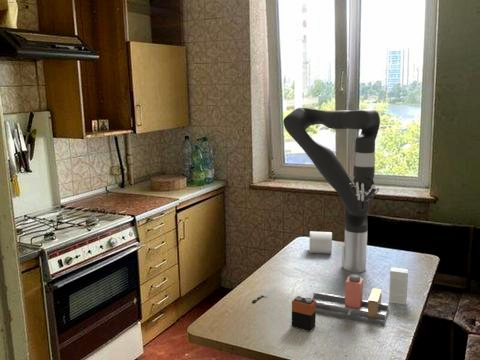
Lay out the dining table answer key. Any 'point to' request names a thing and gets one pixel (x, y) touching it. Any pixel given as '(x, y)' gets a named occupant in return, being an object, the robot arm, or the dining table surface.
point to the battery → (303, 313)
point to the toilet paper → (321, 242)
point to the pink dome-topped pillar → (354, 291)
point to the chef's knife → (266, 294)
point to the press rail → (368, 313)
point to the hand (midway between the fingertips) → (362, 210)
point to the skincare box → (398, 285)
